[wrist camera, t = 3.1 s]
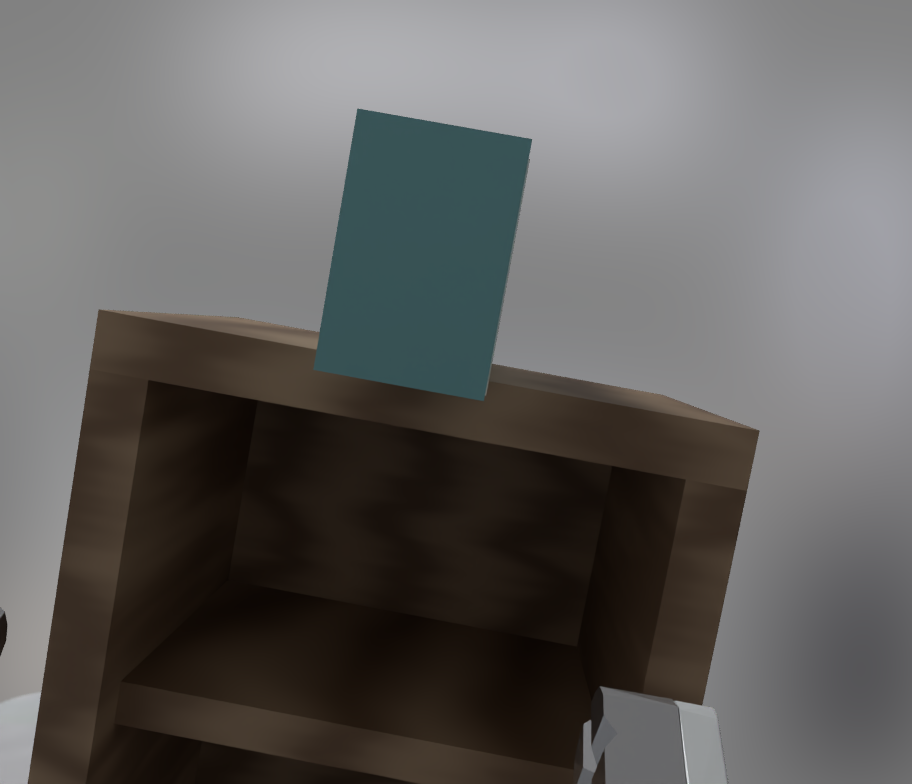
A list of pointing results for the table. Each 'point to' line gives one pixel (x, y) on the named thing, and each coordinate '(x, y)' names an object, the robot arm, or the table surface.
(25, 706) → the table surface
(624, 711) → the robot arm
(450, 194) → the teal rectangular bar
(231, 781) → the brown wooden box
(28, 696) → the table surface
